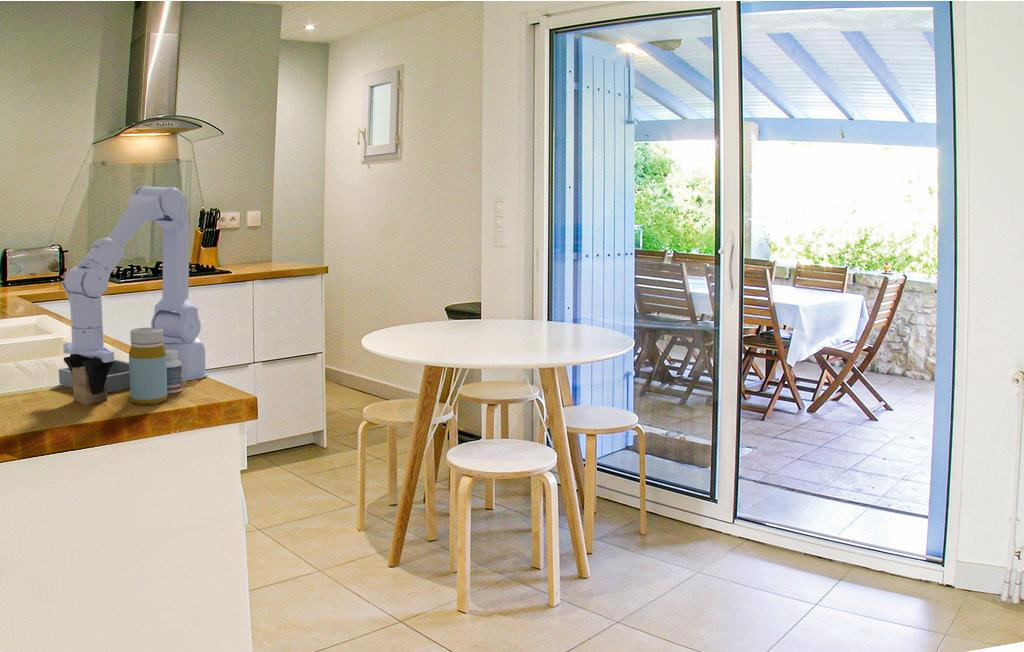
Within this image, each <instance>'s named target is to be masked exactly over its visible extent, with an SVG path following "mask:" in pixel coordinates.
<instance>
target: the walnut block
mask: <svg viewBox="0 0 1024 652" xmlns="http://www.w3.org/2000/svg"><path fill="white" fill-rule="evenodd" d="M72 377H73V388H72V390H73V391H72V392H73V402H76V403H78V404H79V403H80V404H83V405H91V404H96V403H102V402H105V401H108V393H107V381H106V382H105V386H104V390H103V393H100V394H95V395H93V394H92V393H91V390H90V384H89V378H88V374H87V371H86V369H85V367H84V366H79V367H73V368H72Z"/></svg>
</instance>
